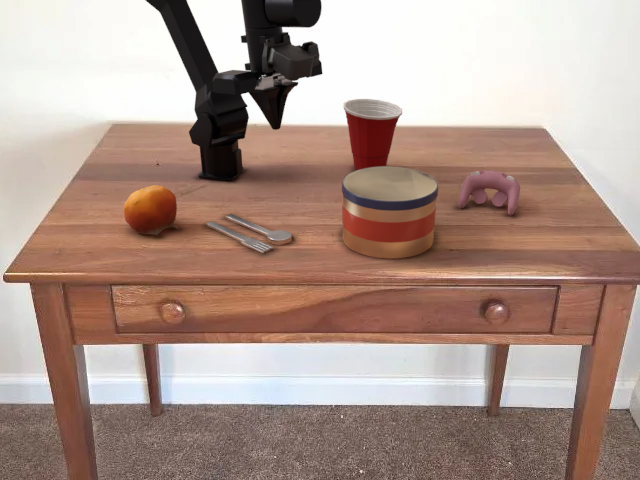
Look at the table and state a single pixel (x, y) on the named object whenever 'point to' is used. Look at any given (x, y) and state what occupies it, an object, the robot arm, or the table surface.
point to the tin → (389, 211)
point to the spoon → (263, 231)
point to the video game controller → (490, 180)
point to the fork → (241, 238)
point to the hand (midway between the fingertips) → (276, 129)
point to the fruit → (151, 210)
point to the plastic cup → (371, 130)
